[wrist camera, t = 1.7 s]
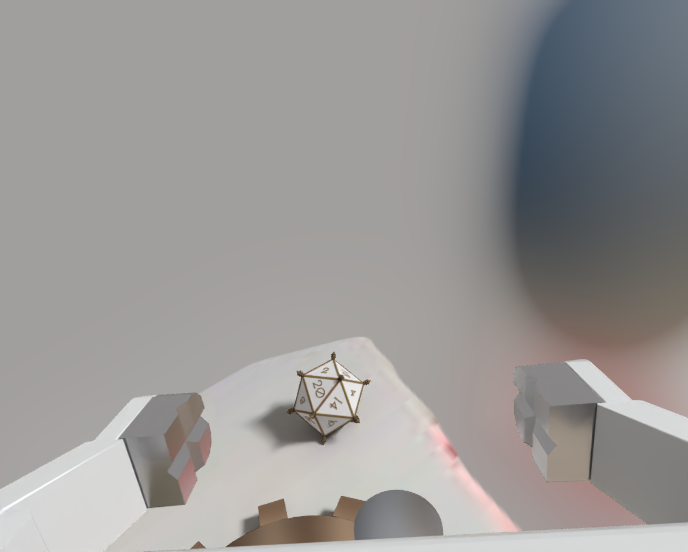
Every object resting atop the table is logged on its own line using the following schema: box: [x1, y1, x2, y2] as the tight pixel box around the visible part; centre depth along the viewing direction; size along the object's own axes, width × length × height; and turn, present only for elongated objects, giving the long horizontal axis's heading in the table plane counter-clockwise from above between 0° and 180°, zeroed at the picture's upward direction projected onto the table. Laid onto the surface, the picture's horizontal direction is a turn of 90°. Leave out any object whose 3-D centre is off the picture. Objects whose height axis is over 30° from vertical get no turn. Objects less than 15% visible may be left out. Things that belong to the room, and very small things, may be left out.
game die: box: [287, 352, 371, 445], centre depth 44 cm, size 9×8×10 cm
